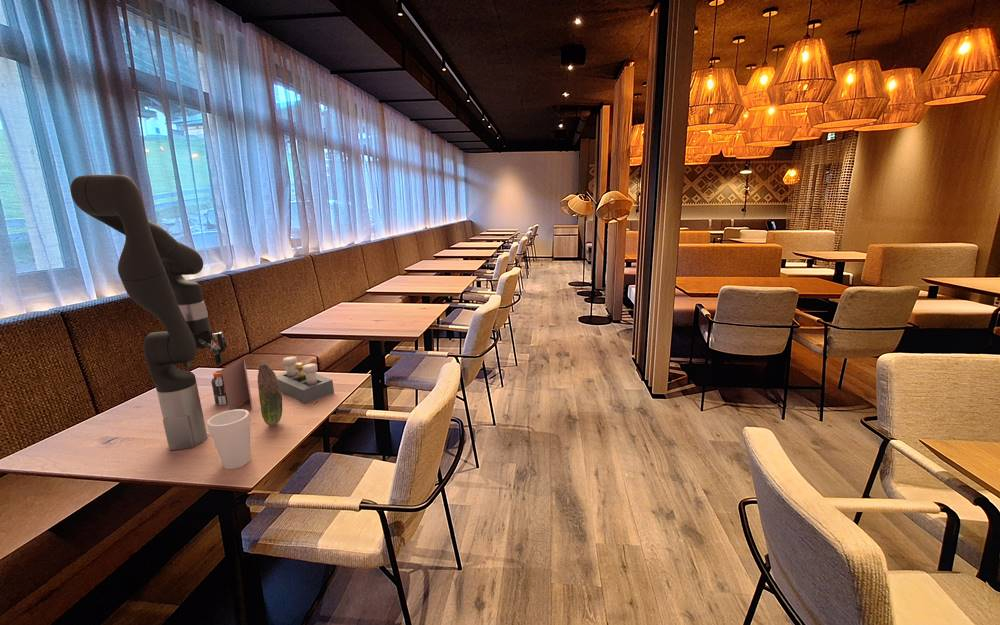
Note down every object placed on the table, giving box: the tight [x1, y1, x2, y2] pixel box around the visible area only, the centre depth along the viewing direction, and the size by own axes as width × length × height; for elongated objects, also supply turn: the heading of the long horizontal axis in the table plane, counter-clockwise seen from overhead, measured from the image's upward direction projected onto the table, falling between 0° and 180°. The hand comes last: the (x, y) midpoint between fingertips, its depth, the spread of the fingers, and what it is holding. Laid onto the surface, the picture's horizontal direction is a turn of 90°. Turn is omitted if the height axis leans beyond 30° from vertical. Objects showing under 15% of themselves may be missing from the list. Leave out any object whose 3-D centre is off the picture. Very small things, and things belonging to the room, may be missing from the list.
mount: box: [276, 371, 335, 405], centre depth 163 cm, size 22×11×5 cm, turn 52°
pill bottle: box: [210, 369, 228, 406], centre depth 155 cm, size 6×6×11 cm
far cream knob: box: [282, 356, 298, 378], centre depth 166 cm, size 5×5×7 cm
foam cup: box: [206, 408, 252, 470], centre depth 117 cm, size 10×9×13 cm
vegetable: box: [257, 363, 283, 427], centre depth 136 cm, size 6×6×20 cm
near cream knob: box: [303, 363, 318, 386], centre depth 157 cm, size 5×5×7 cm
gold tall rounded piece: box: [294, 361, 306, 382], centre depth 162 cm, size 4×4×7 cm
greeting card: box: [221, 357, 253, 411], centre depth 152 cm, size 11×7×15 cm, turn 175°
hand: (204, 366), depth 140 cm, fingers open, 8 cm apart
